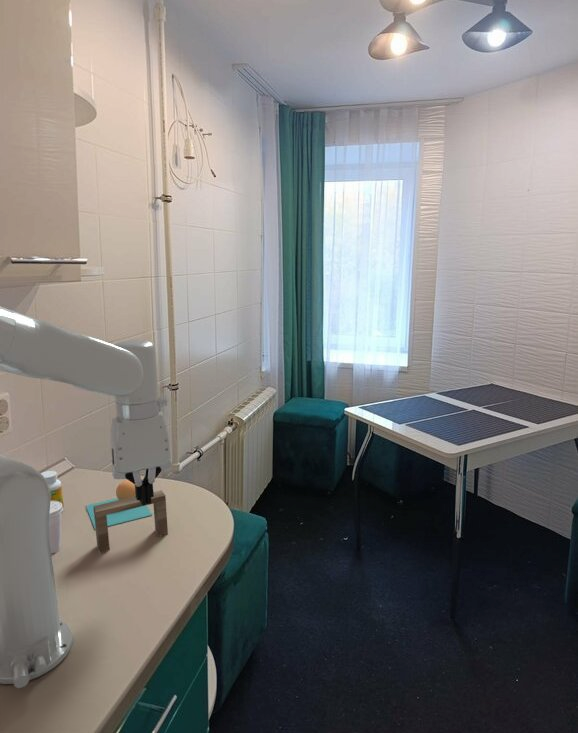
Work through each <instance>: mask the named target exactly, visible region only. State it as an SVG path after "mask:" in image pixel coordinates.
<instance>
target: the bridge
mask: <svg viewBox="0 0 578 733" xmlns="http://www.w3.org/2000/svg"><path fill="white" fill-rule="evenodd" d="M153 494H154V497H151V504H146V505H147V506H150V505H153V517H154V529H155V531H156V533H157V535H158V537H162V536H164V535H167V534H169V531H168V530H169V529H168V516H167V514H168V513H167V499H166V494H165V493H164V492H163V490H161V489H160V490H158V491H157V490H156V491H153ZM146 505H144V506H146ZM141 506H142V504H141V502H140V501H139V500H138V501H137V499H136V496H135V497H130V498H126V499H122V500H117V501H113V502H109V503H105V504H100V505H96V506H93V508H94V518H95V528H96V530H95V536H96V546H97V549H98V551H99V553H103V552H106V551H109V550H110V548H111V547H110V539H109V530H108V528H109V527H108V526H107V515H109V514H113V513H117V512H121V511H125V510H129V509H133V508H137V507H141ZM95 528H94V529H95Z"/></svg>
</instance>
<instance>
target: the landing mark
mask: <svg viewBox="0 0 578 733" xmlns="http://www.w3.org/2000/svg"><path fill="white" fill-rule="evenodd" d="M117 500H119V499H118V498H117V497H116V498H112V499H108V500H104V501H99V502H95V503H92V504H87V505H85V508H86V511H87V513H88V515H89V518H90V521H91V523H92V525H93V528H94V530H95V531H96V528H95V518H94V508H93V506H96V505H100V504H105V503H109V502H113V501H117ZM151 516H153V514H152V512H151V511H150V508H149V507H148V505H146V506H141V507H137V508H133V509H129V510H125V511H121V512H117V513H113V514H109V515H107V526H108V528H109V527H112V526H116V525H120V524H123V523H128V522H132V521H136V520H140V519H145V518H147V517H151Z"/></svg>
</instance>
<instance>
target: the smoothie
mask: <svg viewBox="0 0 578 733" xmlns="http://www.w3.org/2000/svg"><path fill="white" fill-rule="evenodd" d="M62 510H63V507H62V503H61V502H58V501H51V502H50V512H49V539H50V548H51V555H52V554H55V553H57V552H58V551H60V550H61V543H62V542H61V540H62V539H61V538H62V537H61V536H62V512H63V511H64V510H63V511H62Z"/></svg>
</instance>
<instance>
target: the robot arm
mask: <svg viewBox="0 0 578 733" xmlns="http://www.w3.org/2000/svg"><path fill="white" fill-rule="evenodd" d="M157 368H158V367H157V353H156V348H155V345H154V344H153V343H152V342H151V341H149V340H145V339H144V340H143V339H131V340H122V341H119V342H116V343H114V344H113V343H112V344H111V343H109V342H105V341H103V340H100V339H98V338H94V337H91V336H88V335H86V334H82V333H79V332H77V331H76V332H75V331H73V330H71V329H70V330H69V329H66V328H64V327H61V326H58V325H56V324H53V323H50V322H46V321H45V320H41V319H37V318H35V317H32V316H29V315H26V314H23V313H21V312H17V311H15V310H12V309H9V308H6V307H3V306H0V371H1V372H3V373H9V374H13V375H18V376H23V377H25V378H26V377H27V378H31V379H32V378H33V379H38V380H39V379H40V380H47V381H52V382H57V383H63V384H67V385H71V386H73V387H74V388H77V389H79V390H84V391H86V392H87V391H88V392H93V393H98V394H103V395H107V396H110V397H114V401H115V410H116V411H115V412H116V416H112V418H111V425H110V426H111V427H110V458H111V463H112V464H111V465H112V466H113V468H112V478H113V479H114V480H129V481H130V482H132V483H133V484H135V494H136V499H137V501H138V500H139V501H140V502H141V504H142V506H144V505H146V504H150V505H152V504H151V497H154V494H153V492H154V483H155V482H156V481H155V480H156V478H158V476H159V475H160V474H161V473H162V472H163V471H166V470H169V469H170V468H171V467H172V462H171V458H172V456H171V445H170V437H169V432H168V427H167V424H166V423H167V422H166V419H165V416H164V415H165V414H164V412H163V411H162V410H161V409H162V408H163V407H166V406H167V405H168V400H167V398H160V397H159V382H158V369H157ZM140 471H144V477H143V479H142V477H141V474H140ZM41 473H42V472H40V471H39V470H38V469H36V468H34V467H33V466H32V465H29V464H27V463H25V462H22V461H20V460H17V459H15V458H12V457H8V456H5V455H3V454H0V684H1V685H13V686H14V687H15V688H17V689H22V688H25V687H26V686H27V685H28V684H29V682H30V681H32V680H34V679H37V678H39V677H41V676H43V675H45V674H47V673H48V672H50V671H51V670H53V669H55V667H57V666H58V665H59V664H60V663H61V662H62V661H63V660H64V659H65V658H66V656H68V654H69V652H70V650H71V648H72V646H73V632H72V629H71V627H70V626H69V625H68V624H67V623H66V622H63V620H60V612H59V605H58V598H57V589H56V588H57V587H56V582H55V581H56V580H55V574H54V573H55V572H54V565H53V557H52V554H51V548H50V539H49V512H50V502H51V494H50V488H49V485H48V483H47V481H46V479H45V478H44V476H43V475H42V474H41Z"/></svg>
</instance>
